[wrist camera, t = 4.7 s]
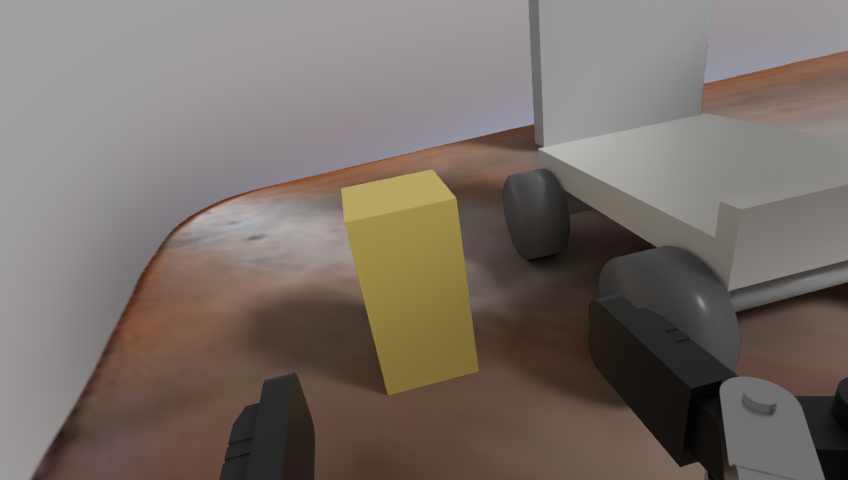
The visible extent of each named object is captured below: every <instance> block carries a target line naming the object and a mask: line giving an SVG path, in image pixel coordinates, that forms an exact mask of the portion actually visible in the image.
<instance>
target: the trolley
mask: <svg viewBox="0 0 848 480" xmlns="http://www.w3.org/2000/svg"><path fill="white" fill-rule="evenodd" d="M712 2H713V0H529V19H530V40H531V41H530V42H531V62H532V85H533V106H534V128H535V143H536V144H538V145H540V146H542V147H543V148H538V163H539V169H538V170H534V171H529V172H524V173H519V174H515V175H510V176H508V177H507V179H506V181H505V184H504V190H503V203H504V212H505V218H506V222H507V226H508V230H509V233H510V236H511V238H512V241H513V243H514V245H515V247H516V249H517V250H518V252H519V253H520V255H521V256H522V257H523V258H525V259H527V260H531V259H535V258H539V257H544V256H548V255H552V254H556V253H560V252H563V251H564V250H565V248H566V247H567V244H568V241H569V236H570V219H569V215H570V214H574V213H579V212H583V211H588V210H592V209H596V210H598V211H599V212H601V213H602V214H604V215H606V216H607V217H609V218H611V219H612V220H614V221H615V222H617V223H619V224H620V225H622V226H623V227H625V228H627V229H628V230H630V231H631V232H633V233H635V234H636V235H638V236H640V237H641V238H643V239H644V240H646V241H648V242H649V243H651V244H652V245H654V246H656V247H657V248H653V249H649V250H645V251H641V252H637V253H633V254H628V255H624V256H620V257H616V258H613V259H611V260H609V261H608V262H607V263H606V264H605V265H604V267H603V269H602V271H601V274H600V277H599V283H598V299H601V298H605V297H609V296H613V295H617V294H619V295H622V296H623V297H624V298H626V299H627V300H628V301H629V302H630V303H632V304H633V305H634V306H635V307H636V308H638V309H639V308H645V309H648V310H650V311H652V312H655V313H657V314H659V315H662V316H663V317H665V318H666V319H667V320H668V321H670V322H671V323H672V324H673V325H675V326H676V327H677V328H678V330H679V331H680V330H681V331H682V332H683V333H685V334H686V335H687V336H689V337H690V340H691V341H693V340H694V341H695V342H696V343H697V344H699V345H700V346H701V347H702V348H704V349H705V350H706V351H707V352H709V353H710V354H711V355H712V356H714V357H715V358H716V359H717V360H719V361H720V362H721V363H722V364H724V365H725V366H726V367H727V368H729V369H730V370H731V371H732V372H733V370H734V369H735V367H736V365H737V362H738V359H739V354H740V332H739V326H738V321H737V317H736V314H735V312H738V311H742V310H746V309H750V308H753V307H757V306H761V305H765V304H768V303H772V302H776V301H779V300H783V299H787V298H791V297H794V296H798V295H802V294H806V293H809V292H813V291H817V290H821V289H824V288H828V287H832V286H836V285H839V284H843V283H847V282H848V140H844V139H839V138H834V137H828V136H823V135H818V134H812V133H807V132H801V131H796V130H791V129H785V128H780V127H775V126H769V125H764V124H759V123H753V122H748V121H743V120H737V119H732V118H727V117H721V116H716V115H711V114H701V115H700V111H701V102H702V93H703V84H704V74H705V66H706V57H707V48H708V39H709V29H710V20H711V12H712Z"/></svg>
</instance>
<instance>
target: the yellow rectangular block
mask: <svg viewBox="0 0 848 480" xmlns="http://www.w3.org/2000/svg"><path fill="white" fill-rule="evenodd" d="M341 191H342V202H343V212H344V222H345V226H346V230H347V234H348V238H349V242H350V246H351V250H352V254H353V258H354V262H355V266H356V270H357V274H358V278H359V282H360V286H361V290H362V294H363V298H364V302H365V306H366V310H367V314H368V318H369V322H370V326H371V330H372V334H373V338H374V342H375V346H376V350H377V354H378V358H379V362H380V366H381V370H382V374H383V378H384V382H385V386H386V390H387V394H388V395H392V394H396V393H400V392H404V391H407V390H411V389H415V388H419V387H422V386H426V385H430V384H434V383H438V382H441V381H445V380H449V379H453V378H456V377H460V376H464V375H468V374H472V373H475V372H479V369H478V361H477V353H476V346H475V338H474V330H473V322H472V315H471V307H470V299H469V292H468V284H467V276H466V268H465V261H464V253H463V245H462V237H461V230H460V222H459V214H458V207H457V199H456V197H455V196H454V195H453V194H452V192H451V191H450V190H449V189H448V188H447V186H446V185H445V184H444V183H443V182H442V180H441V179H440V178H439V177H438V176H437V174H436V173H435V172H434V171H433V170H428V171H423V172H418V173H413V174H408V175H404V176H399V177H394V178H389V179H384V180H380V181H375V182H370V183H365V184H360V185H356V186H351V187H346V188H341Z"/></svg>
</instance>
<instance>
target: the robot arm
mask: <svg viewBox="0 0 848 480" xmlns="http://www.w3.org/2000/svg"><path fill="white" fill-rule="evenodd" d="M589 352H590V355H591V358H592V360H593V363H594V364H595V366H596V368H597V369H598V370H599V371H600V373H601V374H602V375H603V376H604V377H605V378H606V380H607V381H608V382H609V383H610V384H611V386H612V387H613V388H614V389H615V390H616V392H617V393H618V394H619V395H620V396H621V397H622V399H623V400H624V401H625V402H626V403H627V405H628V406H629V407H630V408H631V409H632V411H633V412H634V413H635V414H636V415H637V416H638V418H639V419H640V420H641V421H642V422H643V424H644V425H645V426H646V427H647V428H648V429H649V431H650V432H651V433H652V434H653V435H654V437H655V438H656V439H657V440H658V441H659V443H660V444H661V445H662V446H663V447H664V448H665V450H666V451H667V452H668V453H669V454H670V456H671V457H672V458H673V459H674V460H675V462H676V463H677V464H678V465H679V466H680V467H682V466H685V465H689V464H692V463H695V462H700V464H701V465H702V466H703V467H704V468H705V469H706V471H705V478H704V480H848V378H845V379H843V380H842V381H841V382H840V383H839V385H838V388H837V391H836V394H835V396H793V395H792V394H791V393H789V392H788V391H787V390H785V389H784V388H782V387H780V386H778V385H776V384H774V383H772V382H769V381H766V380H763V379H759V378H754V377H739V376H737V375H736V374H735V373H734V372H732V371H731V370H730V369H729V368H727V367H726V366H725V365H724V364H722V363H721V362H720V361H719V360H717V359H716V358H715V357H714V356H712V355H711V354H710V353H709V352H707V351H706V350H705V349H704V348H702V347H701V346H700V345H699V344H697V343H696V342H695V341H694V340H693V341H691V340H690V337H689V336H687V335H686V334H685V333H683V332H682V331H681V330H680V331H679V330H678V328H677V327H676V326H675V325H673V324H672V323H671V322H670V321H668V320H667V319H666V318H665V317H663V316H662V315H659V314H657V313H655V312H652V311H650V310H648V309H645V308H639V309H638V308H636V307H635V306H634V305H633V304H632V303H630V302H629V301H628V300H627V299H626V298H624V297H623V296H622V295H619V294H617V295H613V296H609V297H605V298H601V299H597V300H593V301H591V302H590V305H589ZM228 444H229V447H227V451H226V455H225V463H223V468H222V472H221V476H220V480H314V460H315V433H314V426H313V421H312V417H311V414H310V411H309V408H308V405H307V402H306V400H305V397H304V394H303V391H302V388H301V385H300V382H299V379H298V377H297V375H296V373H292V374H287V375H283V376H279V377H275V378H271V379H267V380H265V381H264V383H263V388H262V393H261V398H260V403H257V404H253V405H249V406H246V407H245V408H244V410H243V411H242V413H241V414H240V415H239V417H238V418H237V420H236V421H235V423H234V424H233V427H232V431H231V435H230V439H229V443H228Z"/></svg>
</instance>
